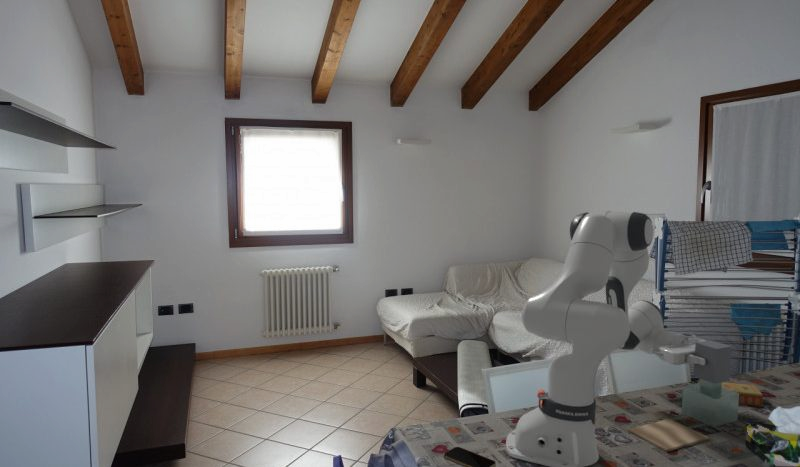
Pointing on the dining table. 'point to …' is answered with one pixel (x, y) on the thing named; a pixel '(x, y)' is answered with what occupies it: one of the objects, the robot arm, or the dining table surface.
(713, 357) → the grey rectangular block
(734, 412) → the grey-green block
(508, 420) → the dining table surface
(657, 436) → the mat
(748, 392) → the carton
